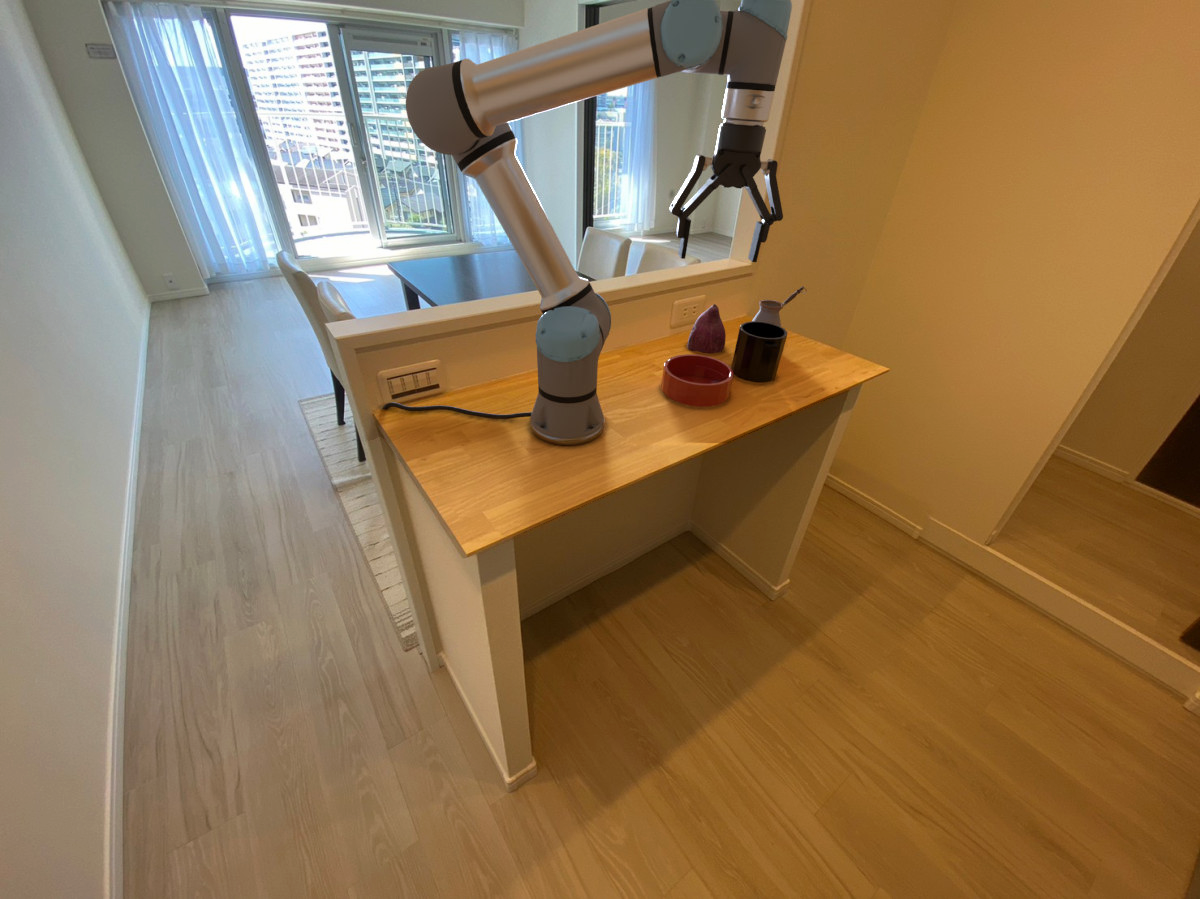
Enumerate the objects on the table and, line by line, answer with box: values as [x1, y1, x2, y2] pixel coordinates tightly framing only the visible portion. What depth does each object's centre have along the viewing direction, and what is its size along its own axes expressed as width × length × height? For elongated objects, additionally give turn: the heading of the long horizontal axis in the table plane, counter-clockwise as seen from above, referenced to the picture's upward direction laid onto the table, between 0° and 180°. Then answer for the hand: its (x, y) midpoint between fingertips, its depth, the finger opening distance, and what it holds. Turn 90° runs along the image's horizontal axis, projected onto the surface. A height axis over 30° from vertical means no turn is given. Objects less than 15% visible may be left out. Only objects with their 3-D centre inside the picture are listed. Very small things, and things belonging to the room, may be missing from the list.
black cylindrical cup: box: [730, 320, 789, 384], centre depth 123 cm, size 11×14×12 cm
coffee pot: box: [750, 286, 808, 327], centre depth 139 cm, size 21×12×15 cm, turn 130°
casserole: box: [660, 353, 734, 408], centre depth 116 cm, size 16×16×6 cm
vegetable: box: [686, 303, 726, 354], centre depth 134 cm, size 10×10×15 cm
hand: (717, 258), depth 92 cm, fingers open, 13 cm apart
